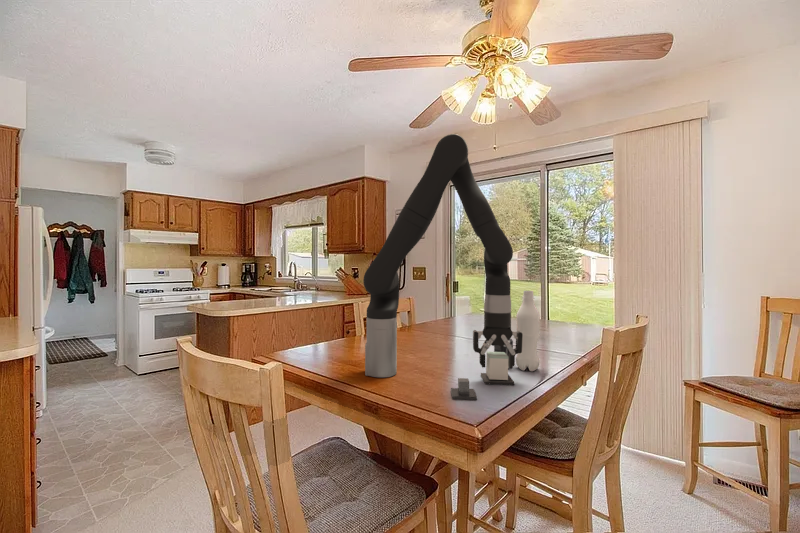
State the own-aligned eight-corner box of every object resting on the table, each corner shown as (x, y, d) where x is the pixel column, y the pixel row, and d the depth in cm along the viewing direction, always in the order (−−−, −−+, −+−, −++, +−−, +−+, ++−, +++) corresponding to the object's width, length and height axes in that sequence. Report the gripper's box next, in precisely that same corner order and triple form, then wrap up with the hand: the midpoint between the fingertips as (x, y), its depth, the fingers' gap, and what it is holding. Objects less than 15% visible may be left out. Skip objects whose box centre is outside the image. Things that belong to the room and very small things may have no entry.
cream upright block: (489, 379, 106) (489, 356, 106) (486, 373, 111) (486, 351, 111) (507, 380, 106) (508, 356, 106) (503, 374, 111) (504, 352, 111)
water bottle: (514, 370, 118) (515, 291, 117) (516, 365, 124) (517, 289, 124) (539, 373, 115) (540, 292, 115) (539, 367, 122) (540, 290, 121)
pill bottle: (513, 369, 120) (513, 333, 120) (494, 368, 121) (494, 333, 121) (511, 364, 126) (512, 330, 125) (493, 363, 127) (493, 329, 127)
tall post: (485, 384, 105) (485, 359, 105) (480, 375, 113) (480, 352, 113) (514, 385, 104) (514, 360, 104) (507, 376, 112) (508, 353, 112)
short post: (452, 399, 93) (452, 383, 93) (450, 391, 99) (450, 376, 99) (476, 400, 93) (477, 384, 93) (473, 391, 99) (473, 376, 99)
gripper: (474, 311, 105) (473, 370, 105) (526, 312, 104) (525, 371, 104) (470, 308, 112) (470, 363, 113) (519, 308, 112) (518, 364, 112)
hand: (497, 367), depth 108 cm, fingers open, 7 cm apart
